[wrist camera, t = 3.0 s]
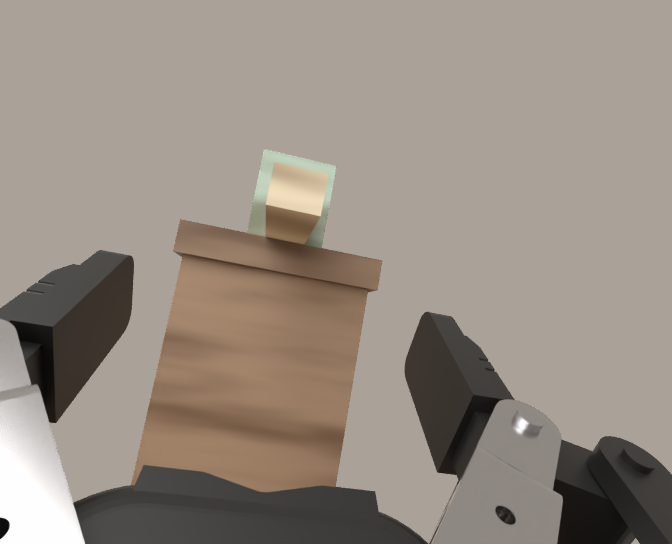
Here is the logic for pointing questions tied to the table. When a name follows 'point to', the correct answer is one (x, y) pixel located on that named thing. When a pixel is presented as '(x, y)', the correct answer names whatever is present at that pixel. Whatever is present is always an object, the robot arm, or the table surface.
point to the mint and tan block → (292, 199)
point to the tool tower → (257, 360)
